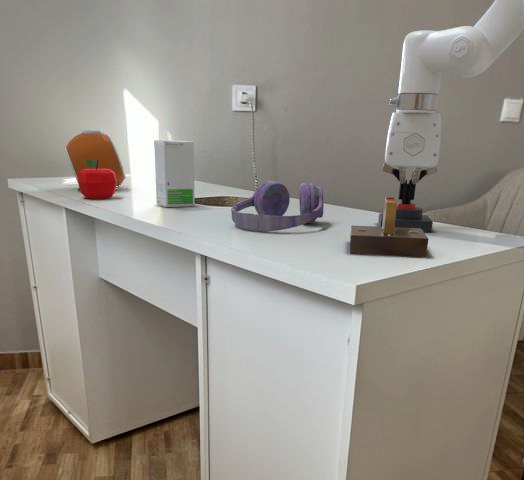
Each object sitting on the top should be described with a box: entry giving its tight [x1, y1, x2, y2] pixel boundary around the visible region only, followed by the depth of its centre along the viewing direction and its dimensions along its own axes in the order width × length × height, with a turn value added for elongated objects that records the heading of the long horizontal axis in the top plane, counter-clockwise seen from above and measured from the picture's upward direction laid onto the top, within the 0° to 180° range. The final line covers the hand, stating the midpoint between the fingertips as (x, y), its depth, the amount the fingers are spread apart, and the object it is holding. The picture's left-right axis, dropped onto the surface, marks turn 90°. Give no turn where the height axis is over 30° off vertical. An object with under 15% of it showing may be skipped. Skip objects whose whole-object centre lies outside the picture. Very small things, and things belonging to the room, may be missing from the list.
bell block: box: [377, 206, 434, 233], centre depth 114 cm, size 10×9×4 cm
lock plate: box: [349, 225, 429, 258], centre depth 93 cm, size 12×10×3 cm
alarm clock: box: [64, 129, 126, 188], centre depth 172 cm, size 19×18×17 cm
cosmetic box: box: [153, 139, 196, 208], centre depth 138 cm, size 8×7×16 cm
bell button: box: [397, 202, 416, 210], centre depth 113 cm, size 4×4×2 cm
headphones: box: [230, 180, 324, 233], centre depth 114 cm, size 18×8×20 cm
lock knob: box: [382, 196, 398, 234], centre depth 91 cm, size 6×2×5 cm, turn 172°
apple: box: [77, 160, 117, 200], centre depth 152 cm, size 11×11×10 cm
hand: (405, 203), depth 113 cm, fingers closed
